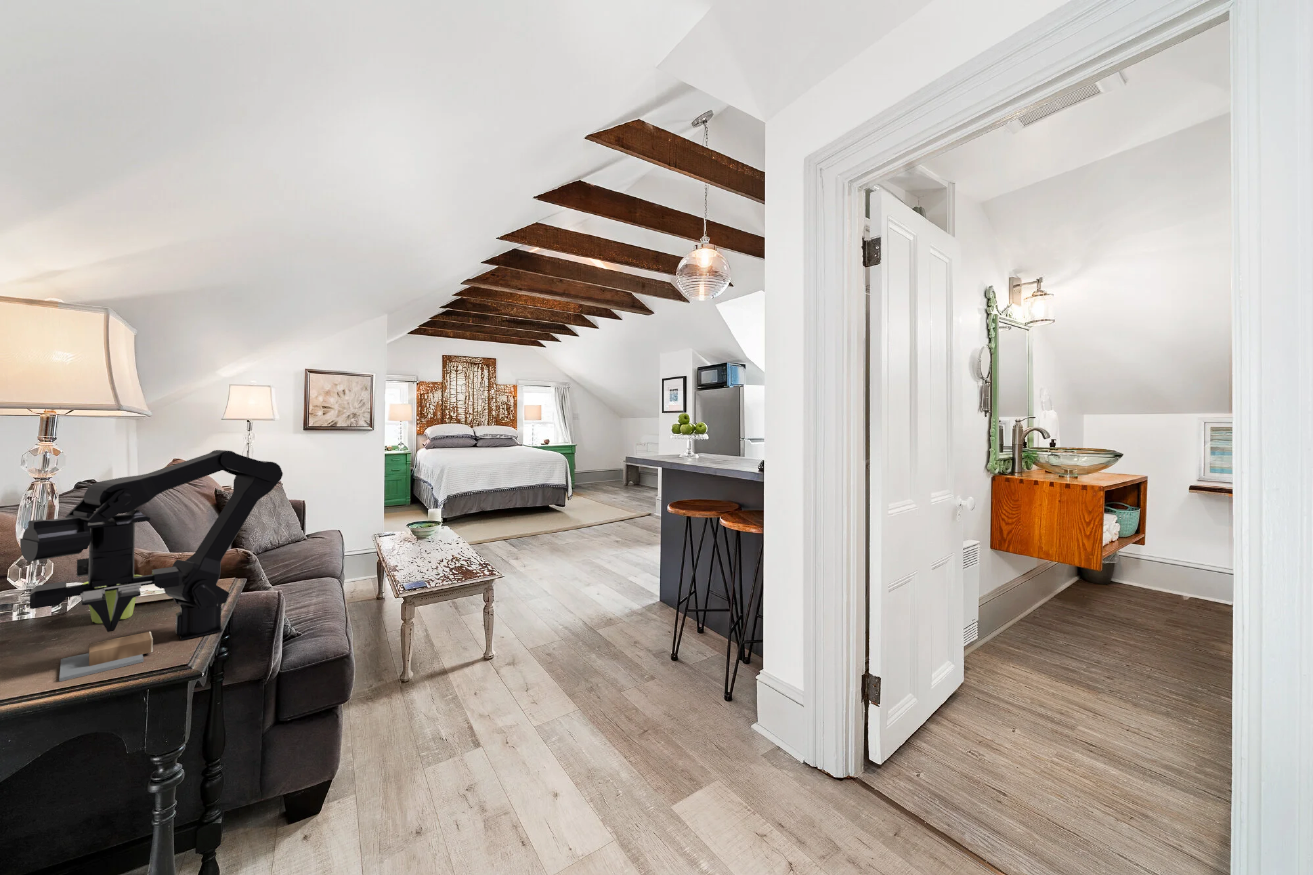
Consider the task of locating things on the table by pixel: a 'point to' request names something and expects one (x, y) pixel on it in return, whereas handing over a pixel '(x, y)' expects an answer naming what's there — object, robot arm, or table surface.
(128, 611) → the plant pot
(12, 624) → the table surface
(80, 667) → the mat
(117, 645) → the slab
